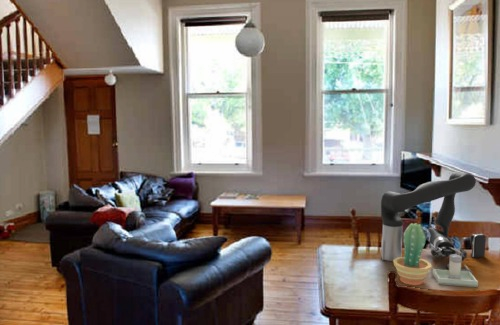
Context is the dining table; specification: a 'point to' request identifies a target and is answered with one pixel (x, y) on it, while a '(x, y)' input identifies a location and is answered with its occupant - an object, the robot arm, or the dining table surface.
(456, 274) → the fuse
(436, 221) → the robot arm
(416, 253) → the potted cactus
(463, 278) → the parts tray
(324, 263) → the dining table surface
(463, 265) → the grey u-shaped bracket
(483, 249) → the dark grey block
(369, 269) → the dining table surface
